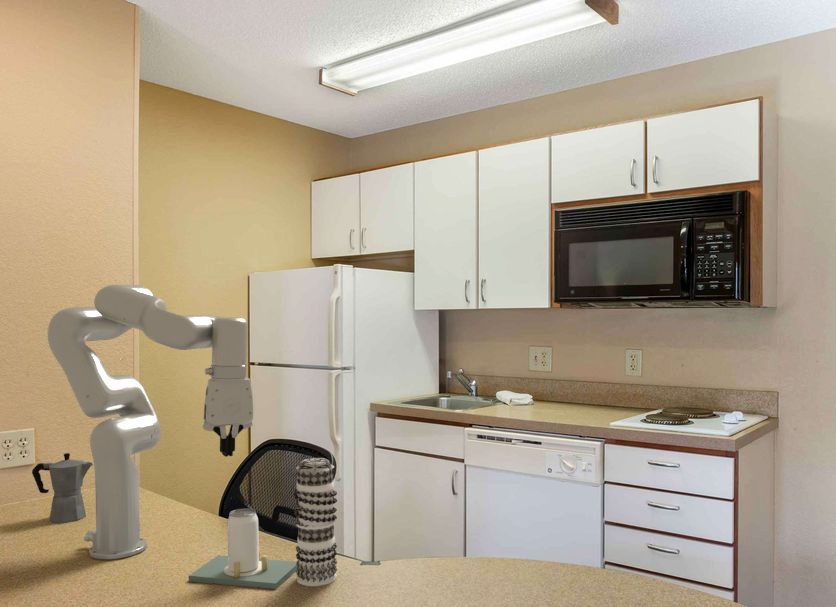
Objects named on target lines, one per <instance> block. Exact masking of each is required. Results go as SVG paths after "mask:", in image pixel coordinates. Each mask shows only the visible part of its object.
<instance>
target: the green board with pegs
mask: <svg viewBox="0 0 836 607" xmlns="http://www.w3.org/2000/svg"><path fill="white" fill-rule="evenodd" d="M296 562H297V561H293V560H280V559H268V555H266V554H265V555H261V547H260V546H259V566H258V567H257V568H256V569H255V570H253V571H251V572H247V573H240V562H234V572H231V571H230V570H229V568H228V555H216V556H215V557H214V558H212V559H210V560H209V561H208V562H206V563H205V564H203V565H202V566H200V567H199V568H198V569H196V570H194V571H193V572H192V573H190V574H189V575H188V582H191V581H194V582H193V583H202V582H204V583H203V584H213V583H215V584H214V585H224V586H225V585H226V586H237V587H245V588H246V587H248V588H257V587H260V589H268V588H269V590H277V589H278V588H279V587H280V586H281V585H283V583H284V582H286V581H287V580H288V579H289V578H290V577H291V576H292V575H293V574H294V573H296V570H297V567H296ZM270 588H271V589H270Z"/></svg>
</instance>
